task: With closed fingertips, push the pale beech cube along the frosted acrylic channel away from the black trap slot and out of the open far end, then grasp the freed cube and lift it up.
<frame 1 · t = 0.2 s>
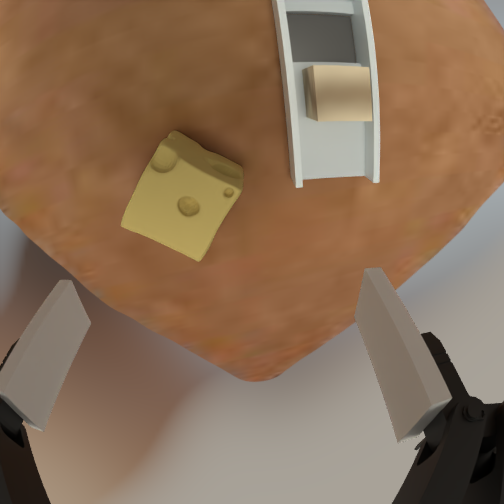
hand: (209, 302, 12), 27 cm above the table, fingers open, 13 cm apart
block: (328, 92, 30), point 1 cm above the table, touching channel
channel: (324, 85, 31), on the table
cheese: (193, 180, 37), on the table
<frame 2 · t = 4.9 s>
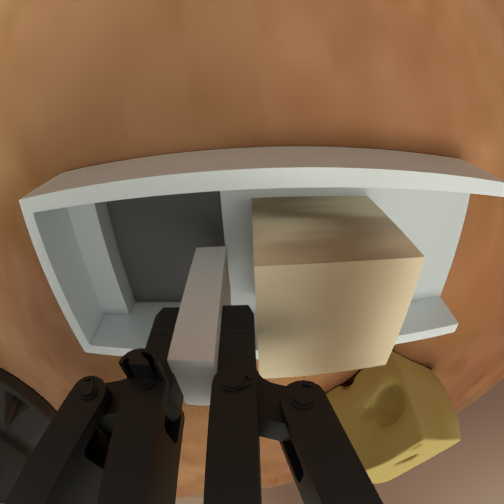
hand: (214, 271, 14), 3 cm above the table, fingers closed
block: (309, 248, 16), point 2 cm above the table, touching gripper
channel: (279, 237, 17), on the table
cheese: (377, 384, 26), on the table
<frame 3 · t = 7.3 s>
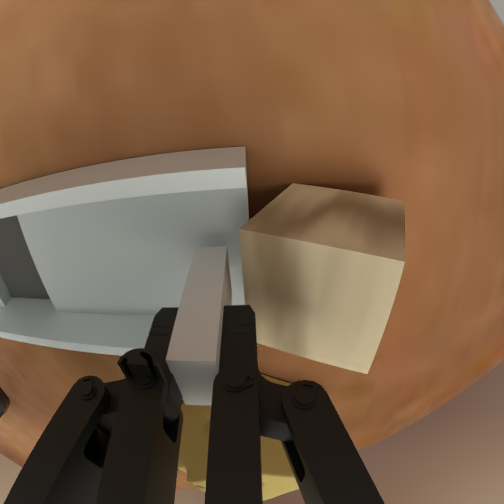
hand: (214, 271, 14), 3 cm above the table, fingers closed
block: (271, 257, 15), point 3 cm above the table, tilted 62°
channel: (73, 247, 17), on the table
cheese: (248, 397, 26), on the table
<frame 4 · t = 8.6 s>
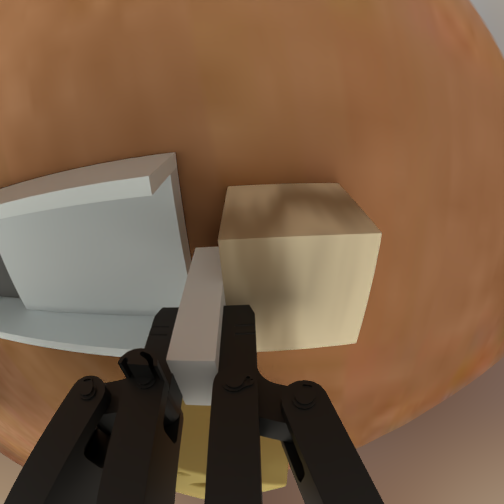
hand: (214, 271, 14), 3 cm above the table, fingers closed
block: (229, 264, 14), point 3 cm above the table, tilted 90°
channel: (37, 251, 17), on the table
cheese: (212, 398, 26), on the table
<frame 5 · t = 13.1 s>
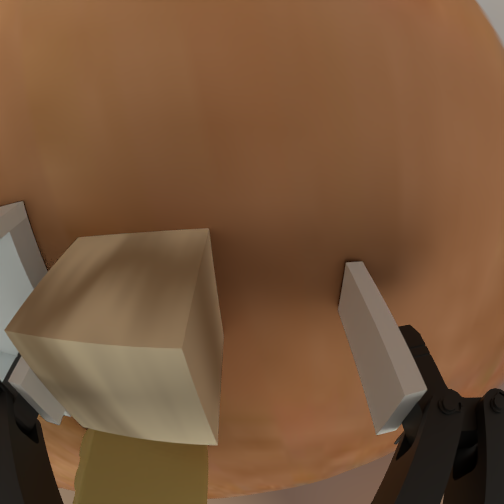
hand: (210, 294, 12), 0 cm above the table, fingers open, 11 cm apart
block: (74, 333, 10), point 3 cm above the table, tilted 90°
cheese: (142, 435, 22), on the table
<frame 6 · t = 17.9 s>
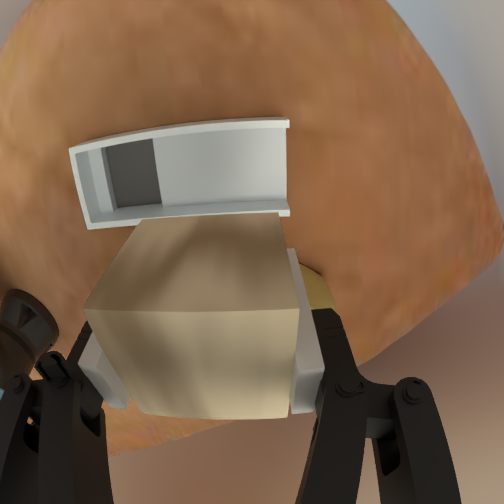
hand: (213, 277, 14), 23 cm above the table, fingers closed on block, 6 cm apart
block: (137, 316, 11), point 26 cm above the table, tilted 90°, touching gripper
channel: (184, 166, 33), on the table
cheese: (277, 282, 43), on the table
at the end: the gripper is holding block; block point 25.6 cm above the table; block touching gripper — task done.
